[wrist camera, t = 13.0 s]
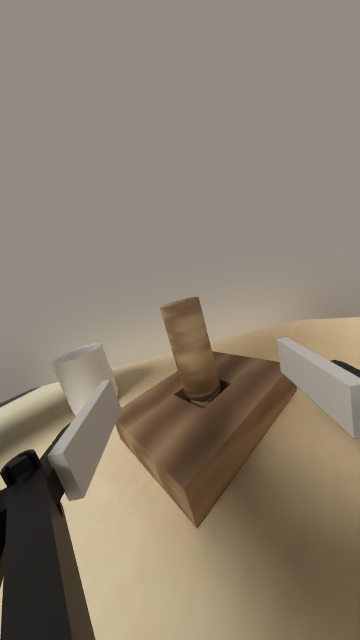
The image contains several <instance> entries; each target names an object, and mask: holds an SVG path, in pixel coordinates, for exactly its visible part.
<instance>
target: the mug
mask: <svg viewBox="0 0 360 640" xmlns="http://www.w3.org/2000/svg"><path fill="white" fill-rule="evenodd" d="M51 364H52V366H53V368H54V371H55V373H56V375H57V378H58V380H59V382H60V385H61V387H62V389H63V392H64V394H65V396H66V399H67V401H68V403H69V406H70V408H71V410H72V412H73V414H74V415H76V416H77V414H78V413H79V412H80V410H81V409H82V407H83V406H84V405H85V403H86V402H87V400H88V399H89V398H90V396H91V395H92V394H93V392H94V391H95V389H96V388H97V387H98V385H99V384H100V382H102V381H106V380H111V382H112V385H113V388H114V390H115V393H116V396H117V397H118V387H117V384H116V382H115V379H114V376H113V373H112V371H111V368H110V365H109V363H108V360H107V357H106V354H105V352H104V349H103V346H102V344H101V343H95V344H90V345H86V346H83V347H79V348H77V349H74V350H71V351H69V352H67V353H65V354H63V355H61V356H59V357H57V358H56V359H54V360H53V361H52V363H51Z"/></svg>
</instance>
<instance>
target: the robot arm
mask: <svg viewBox="0 0 360 640" xmlns="http://www.w3.org/2000/svg"><path fill="white" fill-rule="evenodd" d="M276 343H277V349H278V356H279V362H280V368H281V372H282V373H283V374H284V375H285V376H287V377H288V378H289V379H290V380H291V381H292V382H293V383H294V384H295V385H296V386H297V387H298V388H300V389H301V390H302V391H303V392H304V393H305V394H306V395H307V396H308V397H309V398H310V399H311V400H312V401H314V402H315V403H316V404H317V405H318V406H319V407H320V408H321V409H322V410H323V411H324V412H325V413H327V414H328V415H329V416H330V417H331V418H332V419H333V420H334V421H335V422H336V423H337V424H338V425H339V426H341V427H342V428H343V429H344V430H345V431H346V432H347V433H348V434H349V435H350V436H351V437H352V438H354V439H356V438H360V370H358V369H356V368H354V367H352V366H351V365H349V364H347V363H344V362H341V361H337V360H332V361H329V360H327V359H325V358H323V357H322V356H320V355H318V354H316V353H314V352H313V351H311V350H309V349H307V348H306V347H304V346H302V345H300V344H298V343H297V342H295V341H293V340H291V339H289V338H288V337H282V338H278V339H276ZM120 411H121V407H120V404H119V401H118V399H117V396H116V393H115V390H114V388H113V385H112V382H111V380H106V381H102V382H100V384H99V385H98V387H97V388H96V389H95V391H94V392H93V394H92V395H91V396H90V398H89V399H88V400H87V402H86V403H85V405H84V406H83V407H82V409H81V410H80V412H79V413H78V414H77V416H76V417H75V418H74V420H73V421H72V423H69V424H68V425H67V426H66V427H65V428H64V429H62V430H61V432H60V433H59V434H58V436H57V437H56V439H55V440H54V441H53V442H52V445H50V446H49V448H48V449H47V450H46V452H45V453H44V454H43V456H42V457H41V458H40V460H39V458H38V456H37V454H36V452H35V451H34V450H27V451H24V452H22V453H20V454H18V455H17V456H15V457H14V458H12V459H11V460H10V461H9V462H8V463H7V464H6V465H5V466H4V467H3V468H2V470H1V472H0V475H1V476H2V478H3V480H4V482H5V484H6V485H7V488H5V489H3V490H0V587H1V583H2V580H3V576H4V580H3V599H2V619H1V639H0V640H95V636H94V632H93V628H92V624H91V620H90V616H89V612H88V608H87V603H86V599H85V595H84V591H83V587H82V583H81V579H80V575H79V571H78V567H77V563H76V559H75V554H74V550H73V546H72V542H71V538H70V534H69V530H68V526H67V522H66V518H65V514H64V510H63V506H62V504H61V502H60V500H61V498H62V496H63V494H64V492H65V494H66V496H67V498H68V500H69V501H72V500H77V499H81V498H84V496H85V494H86V492H87V489H88V487H89V485H90V482H91V480H92V478H93V475H94V473H95V470H96V468H97V466H98V463H99V461H100V459H101V456H102V454H103V452H104V449H105V447H106V444H107V442H108V440H109V437H110V435H111V433H112V430H113V428H114V425H115V423H116V421H117V418H118V416H119V414H120Z"/></svg>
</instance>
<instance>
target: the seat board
mask: <svg viewBox="0 0 360 640" xmlns="http://www.w3.org/2000/svg"><path fill="white" fill-rule="evenodd" d="M212 354H213V358H214V362H215V366H216V370H217V375H218V378H219V381H220V391H219V392H218V396H217V397H216V398H215V399H214V400H213V401H212V402H210V403H209V404H208V405H207V406H206V407H205V408H204V409H202V408H200V407H198V406H196V405H194V404H192V403H191V400H189V399H188V398H187V397H186V396H185V394H184V391H183V386H182V382H181V379H180V375H179V372H178V371H177V372H176V373H174V374H173V375H171V376H170V377H168V378H167V379H165V380H163V381H162V382H160V383H159V384H157V385H156V386H154V387H153V388H151V389H150V390H148V391H146V392H145V393H143V394H142V395H140V396H139V397H137V398H136V399H134V400H133V401H131V402H130V403H128V404H126V405H125V406H123V407H122V408H121V411H120V414H119V416H118V418H117V421H116V423H115V425H116V428H117V430H118V433H119V435H120V438H121V440H122V441H123V442H124V443H125V444H126V446H127V447H128V448H129V449H130V450H131V451H132V453H133V454H134V455H135V456H136V457H137V458H138V460H139V461H140V462H141V463H142V464H143V466H144V467H145V468H146V469H147V470H148V471H149V473H150V474H151V475H152V476H153V477H154V478H155V480H156V481H157V482H158V483H159V484H160V485H161V487H162V488H163V489H164V490H165V491H166V492H167V494H168V495H169V496H170V497H171V498H172V499H173V501H174V502H175V503H176V504H177V505H178V506H179V508H180V509H181V510H182V511H183V512H184V513H185V515H186V516H187V517H188V518H189V519H190V520H191V522H192V523H193V524H194V525H195V526H196V527H198V526H199V525H200V523H201V522H202V521H203V519H204V518H205V516H206V515H207V514H208V512H209V511H210V509H211V508H212V507H213V505H214V504H215V503H216V501H217V500H218V498H219V497H220V496H221V494H222V493H223V491H224V490H225V489H226V487H227V486H228V485H229V483H230V482H231V480H232V479H233V478H234V476H235V475H236V473H237V472H238V471H239V469H240V468H241V466H242V465H243V464H244V462H245V461H246V460H247V458H248V457H249V455H250V454H251V453H252V451H253V450H254V448H255V447H256V446H257V444H258V443H259V442H260V440H261V439H262V437H263V436H264V435H265V433H266V432H267V430H268V429H269V428H270V426H271V425H272V423H273V422H274V421H275V419H276V418H277V417H278V415H279V414H280V412H281V411H282V410H283V408H284V407H285V405H286V404H287V403H288V401H289V400H290V399H291V397H292V396H293V394H294V393H295V392H296V385H295V384H294V383H293V382H292V381H291V380H290V379H289V378H288V377H287V376H285V375H284V374H283V373H282V372H281V368H280V362H275V361H269V360H263V359H256V358H250V357H244V356H238V355H231V354H225V353H219V352H213V351H212Z"/></svg>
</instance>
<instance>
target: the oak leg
mask: <svg viewBox="0 0 360 640" xmlns="http://www.w3.org/2000/svg"><path fill="white" fill-rule="evenodd" d="M160 310H161V313H162V317H163V320H164V324H165V327H166V330H167V334H168V337H169V340H170V344H171V348H172V351H173V355H174V358H175V362H176V365H177V368H178V372H179V375H180V379H181V382H182V386H183V391H184V394H185V396H186V397H187V398H188V399H189V400H191V403H192V404H194V405H196V406H198V407H200V408H202V409H204V408H205V407H206V406H207V405H208V404H209V403H210V402H212V401H213V400H214V399H215V398H216V397H217V396H218V392H219V391H220V381H219V378H218V375H217V370H216V366H215V362H214V358H213V354H212V350H211V346H210V342H209V338H208V334H207V330H206V326H205V322H204V317H203V313H202V310H201V306H200V301H199V298H198V297H192V298H186V299H182V300H178V301H175V302H172V303H169V304H166V305H164V306H161V307H160Z"/></svg>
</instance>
